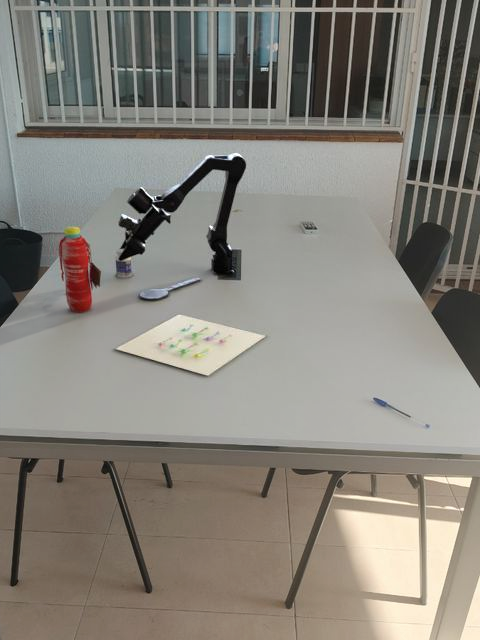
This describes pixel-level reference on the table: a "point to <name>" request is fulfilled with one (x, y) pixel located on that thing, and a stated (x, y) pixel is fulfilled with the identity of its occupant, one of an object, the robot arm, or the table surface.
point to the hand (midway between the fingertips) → (118, 256)
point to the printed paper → (191, 344)
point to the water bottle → (77, 270)
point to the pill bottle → (123, 266)
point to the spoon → (165, 290)
